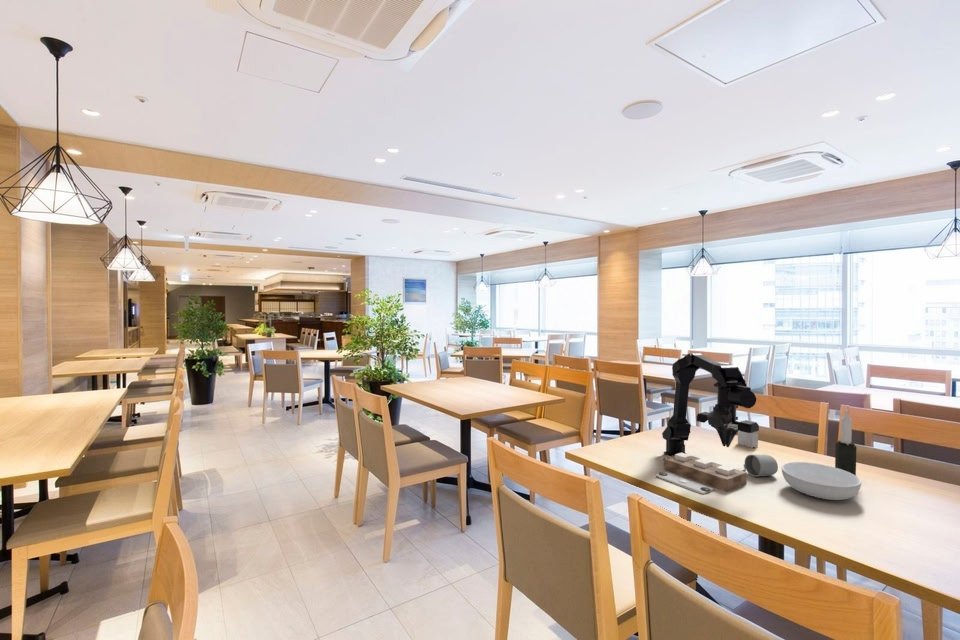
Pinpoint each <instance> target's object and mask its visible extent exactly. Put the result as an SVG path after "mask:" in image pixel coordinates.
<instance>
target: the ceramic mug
mask: <svg viewBox="0 0 960 640" xmlns="http://www.w3.org/2000/svg"><path fill="white" fill-rule="evenodd" d="M743 469H745V471H747V474H749V475H750V476H752V477H768V476H772V475H775V474H777V472H778V471H779V470H778V469H779V465H778V462H777V460H776V459H775V458H774V457H773V456H772V455H769V454H753V453H751V454H748V455H747V456H746V457H745V459H744V464H743Z"/></svg>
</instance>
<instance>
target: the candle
mask: <svg viewBox="0 0 960 640" xmlns="http://www.w3.org/2000/svg"><path fill="white" fill-rule="evenodd" d="M852 432H853V420H852V418H851V417H850V414H849V410H848V409H845V412H844V415H843V416H842V417H841V419H840V440H837V441H836V442H835V453H834V454H835V459H834V461H835V462H834V467H835V468H838V469H841V470H844V471H847V472H850V473H852V474H854V475H855V476H857V446H856V445H855V443H854V442H852V439H853V438H852V437H853V436H852V435H853V434H852Z"/></svg>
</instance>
